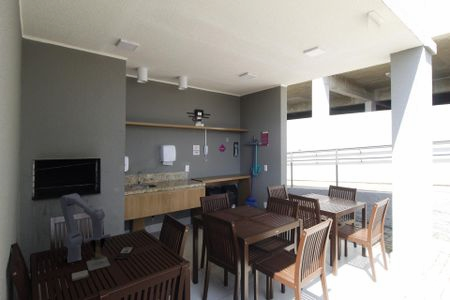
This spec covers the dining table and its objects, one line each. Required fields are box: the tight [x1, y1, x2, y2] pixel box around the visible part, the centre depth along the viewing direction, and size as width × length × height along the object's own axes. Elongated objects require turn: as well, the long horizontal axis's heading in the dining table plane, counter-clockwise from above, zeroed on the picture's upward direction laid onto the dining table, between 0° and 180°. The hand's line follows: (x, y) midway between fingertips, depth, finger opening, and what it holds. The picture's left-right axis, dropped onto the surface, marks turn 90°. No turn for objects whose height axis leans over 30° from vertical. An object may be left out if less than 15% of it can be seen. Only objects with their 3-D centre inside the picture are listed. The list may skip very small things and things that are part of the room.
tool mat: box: [85, 256, 111, 272], centre depth 158 cm, size 14×12×1 cm
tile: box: [71, 269, 89, 282], centre depth 143 cm, size 2×8×7 cm
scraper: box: [91, 245, 106, 261], centre depth 158 cm, size 4×7×8 cm, turn 126°
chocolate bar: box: [113, 246, 135, 261], centre depth 173 cm, size 9×1×18 cm
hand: (98, 250), depth 158 cm, fingers closed on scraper, 3 cm apart
